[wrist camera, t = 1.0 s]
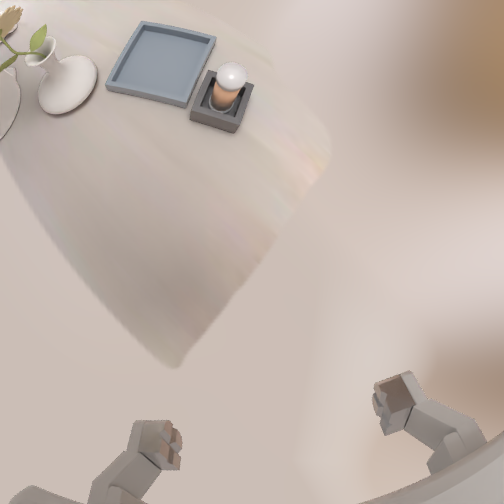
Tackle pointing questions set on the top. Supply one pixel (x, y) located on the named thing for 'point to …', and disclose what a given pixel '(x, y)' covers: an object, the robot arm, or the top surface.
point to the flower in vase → (52, 68)
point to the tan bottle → (227, 86)
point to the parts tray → (161, 63)
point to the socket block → (214, 118)
